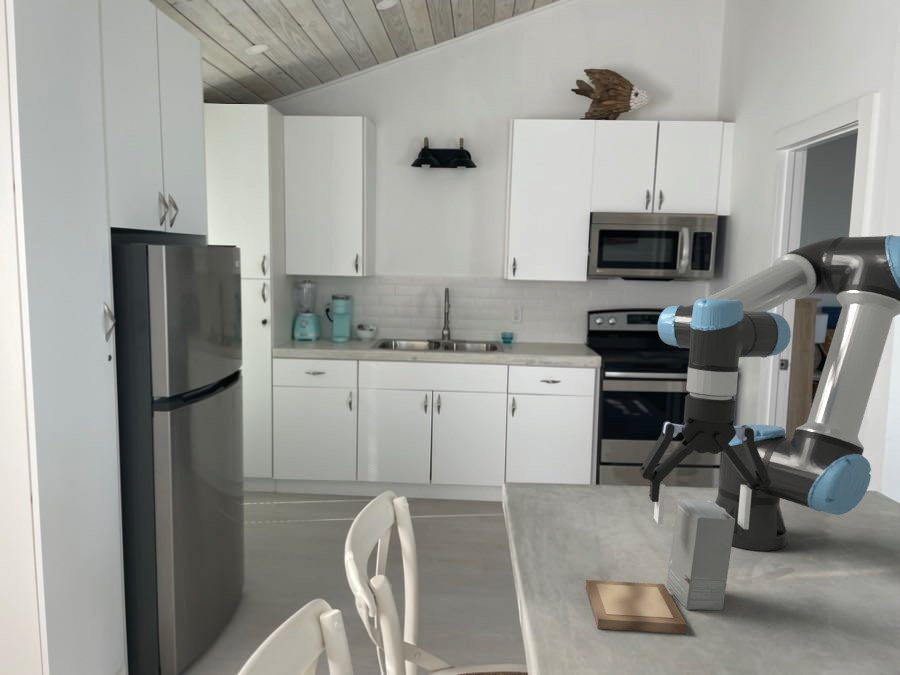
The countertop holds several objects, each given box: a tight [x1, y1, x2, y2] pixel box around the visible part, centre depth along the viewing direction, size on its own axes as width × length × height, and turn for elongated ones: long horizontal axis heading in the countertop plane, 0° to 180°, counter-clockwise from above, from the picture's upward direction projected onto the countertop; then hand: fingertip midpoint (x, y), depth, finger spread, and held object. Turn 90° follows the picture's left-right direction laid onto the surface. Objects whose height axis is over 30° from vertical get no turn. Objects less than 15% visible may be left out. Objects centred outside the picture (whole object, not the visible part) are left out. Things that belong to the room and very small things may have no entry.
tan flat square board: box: [585, 579, 687, 635], centre depth 108 cm, size 13×13×2 cm
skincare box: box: [666, 498, 735, 611], centre depth 112 cm, size 8×7×16 cm
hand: (700, 523), depth 111 cm, fingers open, 13 cm apart
